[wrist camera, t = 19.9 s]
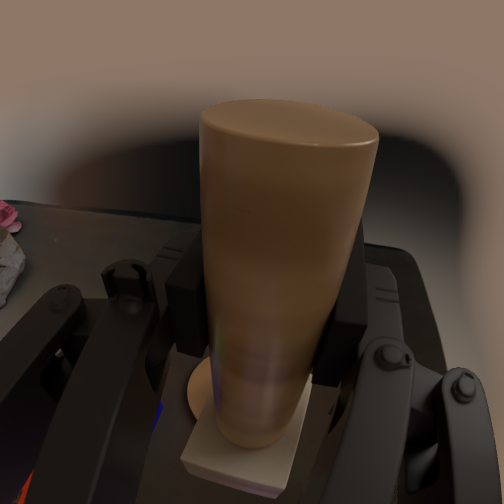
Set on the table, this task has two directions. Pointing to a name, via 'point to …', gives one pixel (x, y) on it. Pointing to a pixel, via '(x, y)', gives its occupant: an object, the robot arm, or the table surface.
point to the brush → (271, 274)
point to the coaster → (199, 387)
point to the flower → (8, 217)
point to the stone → (9, 264)
